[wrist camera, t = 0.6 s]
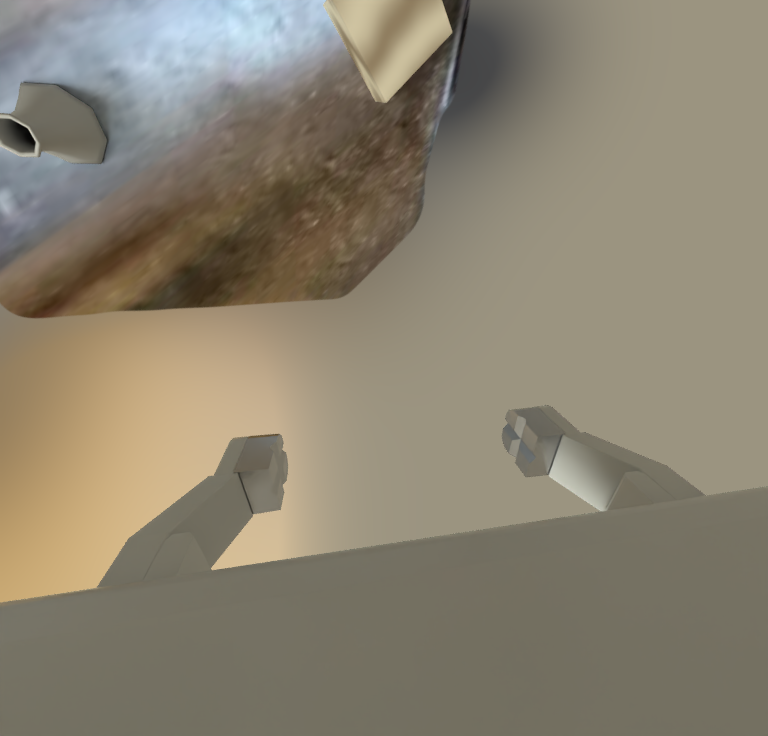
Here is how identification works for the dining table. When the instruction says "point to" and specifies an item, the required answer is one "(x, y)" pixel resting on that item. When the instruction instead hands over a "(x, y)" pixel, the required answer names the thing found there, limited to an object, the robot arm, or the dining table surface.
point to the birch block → (389, 38)
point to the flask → (52, 126)
